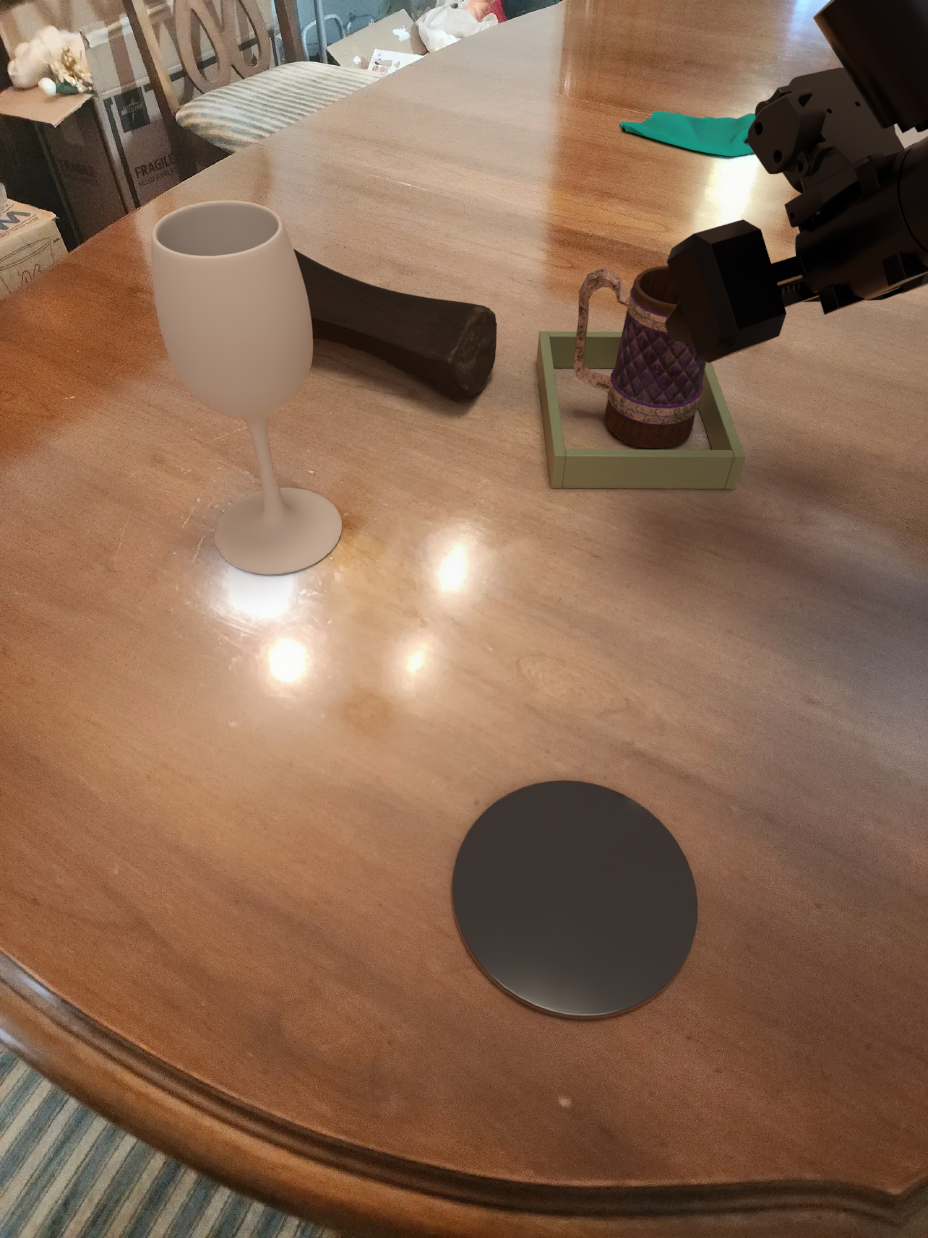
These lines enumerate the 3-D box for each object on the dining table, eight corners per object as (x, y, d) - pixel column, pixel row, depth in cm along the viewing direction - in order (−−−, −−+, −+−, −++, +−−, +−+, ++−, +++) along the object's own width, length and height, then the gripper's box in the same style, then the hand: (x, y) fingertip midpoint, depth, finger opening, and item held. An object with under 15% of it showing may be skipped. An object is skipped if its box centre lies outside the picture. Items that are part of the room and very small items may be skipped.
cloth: (613, 147, 105) (615, 127, 103) (624, 108, 114) (626, 89, 112) (831, 169, 102) (837, 148, 100) (824, 127, 111) (830, 107, 109)
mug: (697, 407, 69) (735, 264, 60) (686, 460, 65) (724, 313, 56) (574, 385, 71) (593, 242, 62) (555, 434, 67) (571, 288, 58)
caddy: (693, 363, 74) (701, 332, 71) (735, 489, 63) (746, 456, 60) (536, 362, 73) (538, 330, 71) (550, 488, 62) (554, 455, 60)
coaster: (673, 785, 46) (675, 779, 46) (718, 1020, 38) (721, 1016, 38) (452, 785, 46) (452, 779, 46) (451, 1021, 38) (452, 1017, 38)
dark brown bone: (188, 345, 78) (464, 456, 73) (134, 276, 68) (451, 399, 63) (243, 247, 80) (516, 349, 75) (199, 165, 70) (512, 277, 65)
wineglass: (345, 489, 62) (310, 190, 46) (338, 575, 56) (295, 267, 41) (225, 490, 62) (148, 190, 46) (205, 577, 56) (110, 268, 40)
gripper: (1023, -2, 42) (793, 157, 57) (741, 53, 36) (562, 217, 50) (1080, 221, 44) (841, 321, 58) (819, 313, 37) (624, 399, 52)
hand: (724, 311), depth 55 cm, fingers open, 9 cm apart
